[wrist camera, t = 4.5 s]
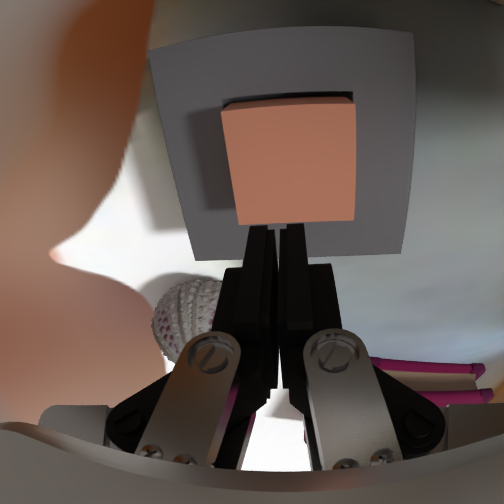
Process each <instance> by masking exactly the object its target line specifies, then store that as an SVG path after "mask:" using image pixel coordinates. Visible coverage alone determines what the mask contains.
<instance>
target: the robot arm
mask: <svg viewBox="0 0 504 504" xmlns="http://www.w3.org/2000/svg"><path fill="white" fill-rule="evenodd" d="M279 349H280V360H281V372H282V383H283V389H288V388H289V399H290V404H292V405H293V406H294V407H295V408H296V409H298V410H299V411H300V412H301V413H302V418H303V424H304V430H305V436H306V442H307V448H308V454H309V460H310V466H311V471H301V472H267V471H244V470H241V467H242V464H243V460H244V457H245V453H246V450H247V446H248V443H249V439H250V436H251V432H252V428H253V425H254V421H255V417H256V411H257V410H258V409H259V408H261V407H262V406H263V405H264V404H266V400H267V399H270V390H271V389H277V386H278V365H279ZM0 504H504V403H485V404H448V405H447V406H446V407H438V406H437V405H435V404H434V403H433V402H432V401H430V400H428V399H427V398H425V397H424V396H422V395H420V394H419V393H417V392H416V391H414V390H412V389H411V388H409V387H408V386H406V385H404V384H403V383H401V382H400V381H398V380H397V379H395V378H393V377H392V376H390V375H389V374H387V373H386V372H384V371H383V370H381V369H379V368H378V367H376V366H375V365H373V364H372V363H371V360H370V358H369V355H368V352H367V350H366V347H365V345H364V343H363V342H362V340H361V339H360V338H359V337H358V336H357V335H355V334H354V333H352V332H350V331H347V330H344V329H342V323H341V317H340V310H339V304H338V298H337V292H336V287H335V281H334V275H333V270H332V265H331V263H328V264H308V258H307V248H306V238H305V228H304V223H295V224H287V229H280V243H279V271H278V260H277V249H276V238H275V230H274V229H268V225H258V226H250V227H249V232H248V238H247V243H246V249H245V254H244V260H243V266H242V267H238V268H227V269H226V270H225V273H224V277H223V282H222V286H221V290H220V294H219V298H218V302H217V306H216V311H215V315H214V319H213V323H212V328H211V331H210V332H206V333H201V334H199V335H197V336H195V337H193V338H192V339H191V340H190V341H189V342H187V344H186V345H185V346H184V348H183V349H182V351H181V354H180V356H179V358H178V360H177V362H176V364H175V366H174V368H173V371H171V372H170V373H168V374H167V375H165V376H163V377H162V378H160V379H159V380H157V381H156V382H154V383H152V384H151V385H149V386H147V387H146V388H144V389H142V390H141V391H139V392H137V393H136V394H134V395H133V396H131V397H129V398H127V399H126V400H124V401H122V402H121V403H119V404H118V405H117V406H115V407H114V408H109V407H108V406H107V405H55V406H51V407H49V408H47V409H46V410H45V411H44V412H43V414H42V415H41V417H40V420H39V423H38V425H34V424H29V423H23V422H4V423H0Z"/></svg>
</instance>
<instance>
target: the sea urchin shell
mask: <svg viewBox="0 0 504 504" xmlns="http://www.w3.org/2000/svg"><path fill="white" fill-rule="evenodd" d="M221 286H222V282H219V281H217V282H215V281H213V280H211V281H207V282H203V281H202V280H198V279H197V280H195V281H194V282H193V281H189V282H185V283H184V285H177V286H176V287H175V288H171V289H170V291H169V292H168V293H166V294H164V295H163V298H162V299H160V300H159V302H158V305H157V307H156V308H155V314H154V315H155V317H154V318H153V319H152V322H153V323H152V325H151V327H152V329H153V334H154V337H155V340H156V342H157V343H158V345H159V347H160V349H161V350H162V351H163V352H164V354H163V355H165V356H167V358H168V360H170V361H172V362H174V363H175V364H176V362H177V360H178V358H179V356H180V354H181V351H182V349H183V348H184V346H185V345H186V344H187V342H189V341H190V340H191V339H192V338H193V337H195V336H197V335H199V334H201V333H206V332H210V331H211V328H212V323H213V319H214V315H215V311H216V306H217V302H218V298H219V294H220V290H221Z"/></svg>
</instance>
